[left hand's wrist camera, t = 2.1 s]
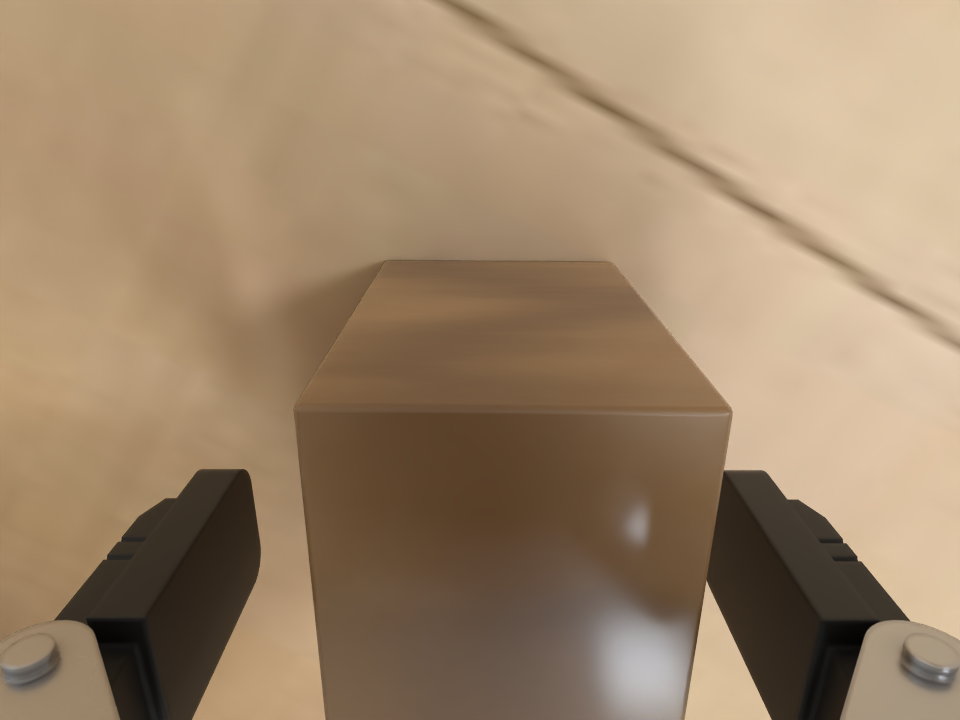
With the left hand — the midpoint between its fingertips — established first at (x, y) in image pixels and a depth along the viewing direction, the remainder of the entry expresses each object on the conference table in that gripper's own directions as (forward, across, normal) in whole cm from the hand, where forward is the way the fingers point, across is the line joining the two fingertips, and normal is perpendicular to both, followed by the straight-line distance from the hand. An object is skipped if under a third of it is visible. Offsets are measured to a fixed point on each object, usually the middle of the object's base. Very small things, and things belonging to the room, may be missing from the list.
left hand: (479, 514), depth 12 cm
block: (+4, 0, 0) cm, 4 cm away
